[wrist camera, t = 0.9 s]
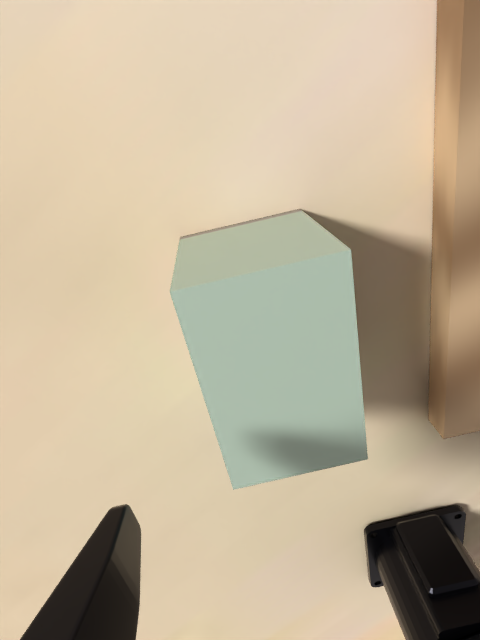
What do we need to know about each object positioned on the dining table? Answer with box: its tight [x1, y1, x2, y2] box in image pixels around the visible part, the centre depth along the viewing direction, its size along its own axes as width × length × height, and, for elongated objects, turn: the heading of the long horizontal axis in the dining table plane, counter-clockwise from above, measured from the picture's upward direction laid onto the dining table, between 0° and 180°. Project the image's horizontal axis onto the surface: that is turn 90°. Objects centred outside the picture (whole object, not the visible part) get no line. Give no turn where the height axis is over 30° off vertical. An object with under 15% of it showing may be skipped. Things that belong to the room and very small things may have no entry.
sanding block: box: [170, 209, 368, 490], centre depth 15 cm, size 8×5×6 cm, turn 12°
